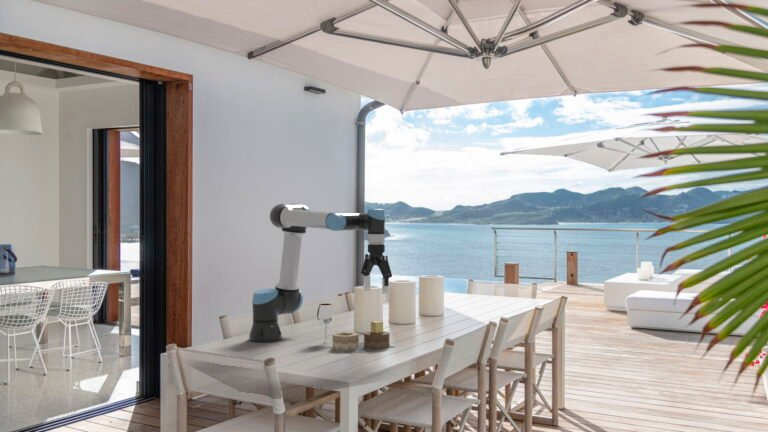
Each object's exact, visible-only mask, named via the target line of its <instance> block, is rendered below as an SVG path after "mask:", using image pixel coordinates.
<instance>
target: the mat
mask: <svg viewBox="0 0 768 432" xmlns="http://www.w3.org/2000/svg"><path fill="white" fill-rule="evenodd" d="M327 348H328V349H332V350H335V349H333V346H328V347H327ZM394 348H395V346H394V345H393V346H392V345H390V346H389V347H388V348H384V349H383V350H388V349H394ZM380 350H382V349H368V348H365V347H364V341H363V342H359V347H358V348H357V349H355V350H349V351H345V350H337V351H338V352H342V353H345V354H348V355H354V354H361V353H367V352H373V351H380ZM335 351H336V350H335Z"/></svg>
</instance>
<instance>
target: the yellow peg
mask: <svg viewBox="0 0 768 432" xmlns="http://www.w3.org/2000/svg"><path fill="white" fill-rule="evenodd" d="M370 331H371V334H383V331H384V322H383V321H380V320H372V321H370Z"/></svg>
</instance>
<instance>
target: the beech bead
mask: <svg viewBox="0 0 768 432" xmlns="http://www.w3.org/2000/svg"><path fill="white" fill-rule="evenodd" d="M359 343H360V342H359V333H358V332H353V331H342V332H335V333H333V334H332V347H333V349H332V350H334V349H335V351H338V350H345V351H349V350H355V349H357V348H358V347H359Z"/></svg>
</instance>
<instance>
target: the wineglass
mask: <svg viewBox="0 0 768 432" xmlns="http://www.w3.org/2000/svg"><path fill="white" fill-rule="evenodd" d="M335 316H336V315H335V311H334V308H333V304H332V303H320V304H319V305H318V307H317V312H316V320H317V322H318V323H319V324H321V325H322V326H323V328H324V342H323V344H328V341H327V340H328V337H327V335H328V334H327V332H328V331H327V329H328V327H329V326H330V325H331V324H332V323H333V322H334V320H335Z"/></svg>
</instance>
